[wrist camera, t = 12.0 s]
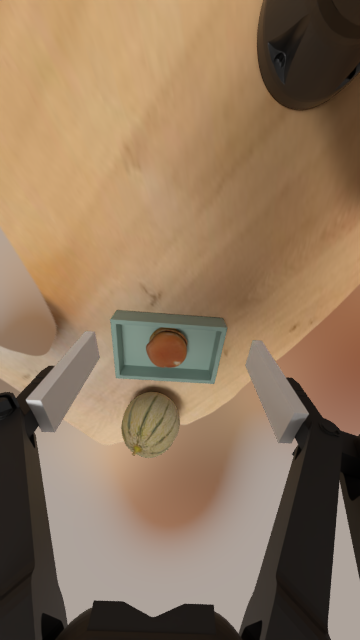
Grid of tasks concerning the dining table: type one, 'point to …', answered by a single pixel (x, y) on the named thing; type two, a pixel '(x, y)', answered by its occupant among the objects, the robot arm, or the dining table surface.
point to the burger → (167, 347)
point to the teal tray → (139, 326)
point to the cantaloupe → (150, 424)
